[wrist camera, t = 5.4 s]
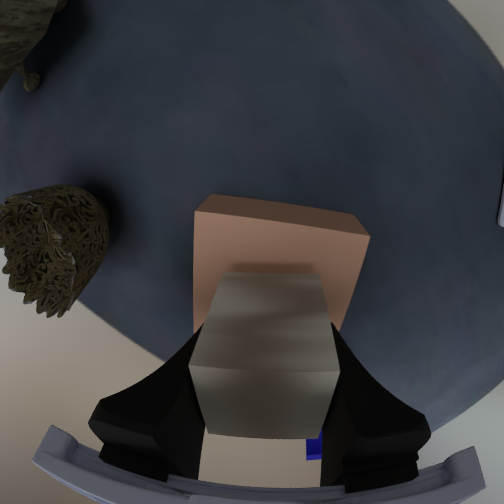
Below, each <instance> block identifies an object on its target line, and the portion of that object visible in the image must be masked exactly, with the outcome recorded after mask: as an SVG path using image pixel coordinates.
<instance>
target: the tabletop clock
mask: <svg viewBox="0 0 504 504" xmlns="http://www.w3.org/2000/svg"><path fill="white" fill-rule="evenodd" d="M66 4H67V0H0V91H1V90H2V89H3V87H4V86H5V84H6V83H7V81H8V80H9V78H10V77H11V76H12V74H13V73H14V72H15V71H17V72H18V73H19V74H20V75H21V76H22V77H23V78H25V79H24V81H23V87H24V88H25V90H26V91H33V90H35V89H36V88H37V87H38V86H39V84H40V76H39V75H38V74H37V73H30V74H29V72H28V71H27V69H26V67H25V66H24V64H23V62H22V61H23V60H24V59H25V57H26V56H27V55H28V54H29V53H30V51H31V50H32V49H33V48H34V47H35V46H36V44H37V43H38V42H39V41H40V40H41V39H42V38H43V37H44V36H45V35H46V32H47V29H48V26H49V23H50V21H51V18H52V15H53V13H56V12H60V11H62V10H63V9H64V7H65V6H66Z"/></svg>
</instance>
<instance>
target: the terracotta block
mask: <svg viewBox="0 0 504 504" xmlns="http://www.w3.org/2000/svg"><path fill="white" fill-rule="evenodd" d="M369 239H370V235H369V234H368V232H367V231H366V230H365V229H364V227H363V226H362V225H361V223H360V222H359V221H358V220H357V218H356V217H355V216H354V215H353V214H348V213H342V212H337V211H331V210H325V209H319V208H313V207H307V206H300V205H294V204H287V203H280V202H273V201H266V200H259V199H251V198H243V197H235V196H227V195H218V194H211V195H210V196H209V197H208V198H207V199H206V200H205V201H204V202H203V203H202V204H201V205H200V206H199V207H198V208H197V209H196V210H195V222H194V261H193V314H194V334H195V332H196V331H197V330H198V329H199V328H200V326H201V325H202V324H203V323H204V322H205V319H206V317H207V314H208V311H209V309H210V306H211V303H212V301H213V298H214V296H215V293H216V290H217V288H218V285H219V283H220V280H221V277H222V275H223V272H243V273H286V274H319V275H320V279H321V283H322V287H323V292H324V296H325V300H326V305H327V309H328V314H329V318H330V322H332V323H333V324H334V325H335V327H336V328H337V330H338V332H339V330H340V327H341V325H342V322H343V320H344V317H345V314H346V311H347V309H348V306H349V303H350V300H351V297H352V294H353V291H354V288H355V285H356V282H357V279H358V276H359V273H360V270H361V267H362V263H363V260H364V257H365V253H366V250H367V247H368V243H369Z"/></svg>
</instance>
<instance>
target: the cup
mask: <svg viewBox="0 0 504 504" xmlns="http://www.w3.org/2000/svg"><path fill="white" fill-rule="evenodd" d="M5 200H8V201H5V202H3V203H2V204H1V205H0V210H1V212H0V248H4V247H5V249H4V250H5V253H4V255H5V256H6V257H7V259H8V261H7V264H6V265H5V266H4V268H3V269H2V272H3V273H4V274H10V277H9V284H8V286H9V289H11V290H12V291H16V292H23V293H25V296H24V300H23V304H29V303H30V304H31V303H32V302H33V301H35V300H37V299H38V300H37V303H36V304H37V308H36V311H37V313H38V314H41V313H43V312H44V311H45V312H46V314H47V316H46V317H47V318H49V317H52V316H53V315H55V314H56V313H57V312H58V311H59V312H58V315H57V317H58V318H60V317H62V315H63V314H64V313H65V312H66V310H68V311H69V309H70V308H71V305H73V303H74V302H75V300H76V299H77V298H78V296H79V295H80V294H81V292H82V291H83V289H84V288H85V287H86V285H87V284H88V283H89V281H90V280H91V279H92V277H93V276H94V274H95V273H96V271H97V270H98V268H99V267H100V265H101V264H102V261H103V259H104V257H105V255H106V252H107V248H108V244H109V232H110V229H111V226H112V213H111V210H110V207H109V205H108V204H107V202H106V201H105V200H104V199H103V198H101V197H100V196H98V195H95V194H90V193H89V192H87V191H86V190H84V189H82V188H80V187H77V186H73V185H55V186H49V187H44V188H39V189H35V190H31V191H27V192H24V193H20V194H16V195H12V196H10V197H7V198H5Z"/></svg>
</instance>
